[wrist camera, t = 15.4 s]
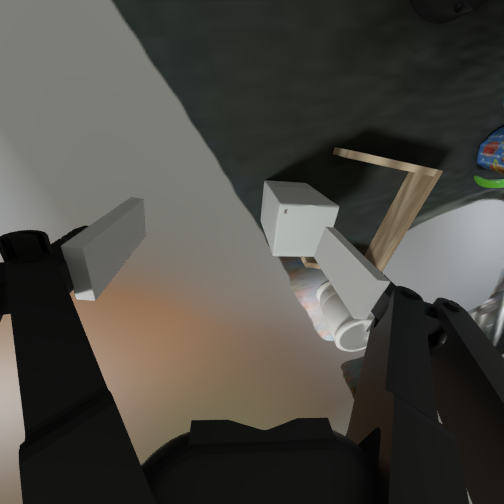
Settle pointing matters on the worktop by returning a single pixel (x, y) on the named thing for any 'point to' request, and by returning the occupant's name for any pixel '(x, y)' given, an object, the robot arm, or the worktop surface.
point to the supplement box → (295, 217)
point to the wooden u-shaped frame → (392, 206)
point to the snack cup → (492, 158)
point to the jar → (342, 320)
